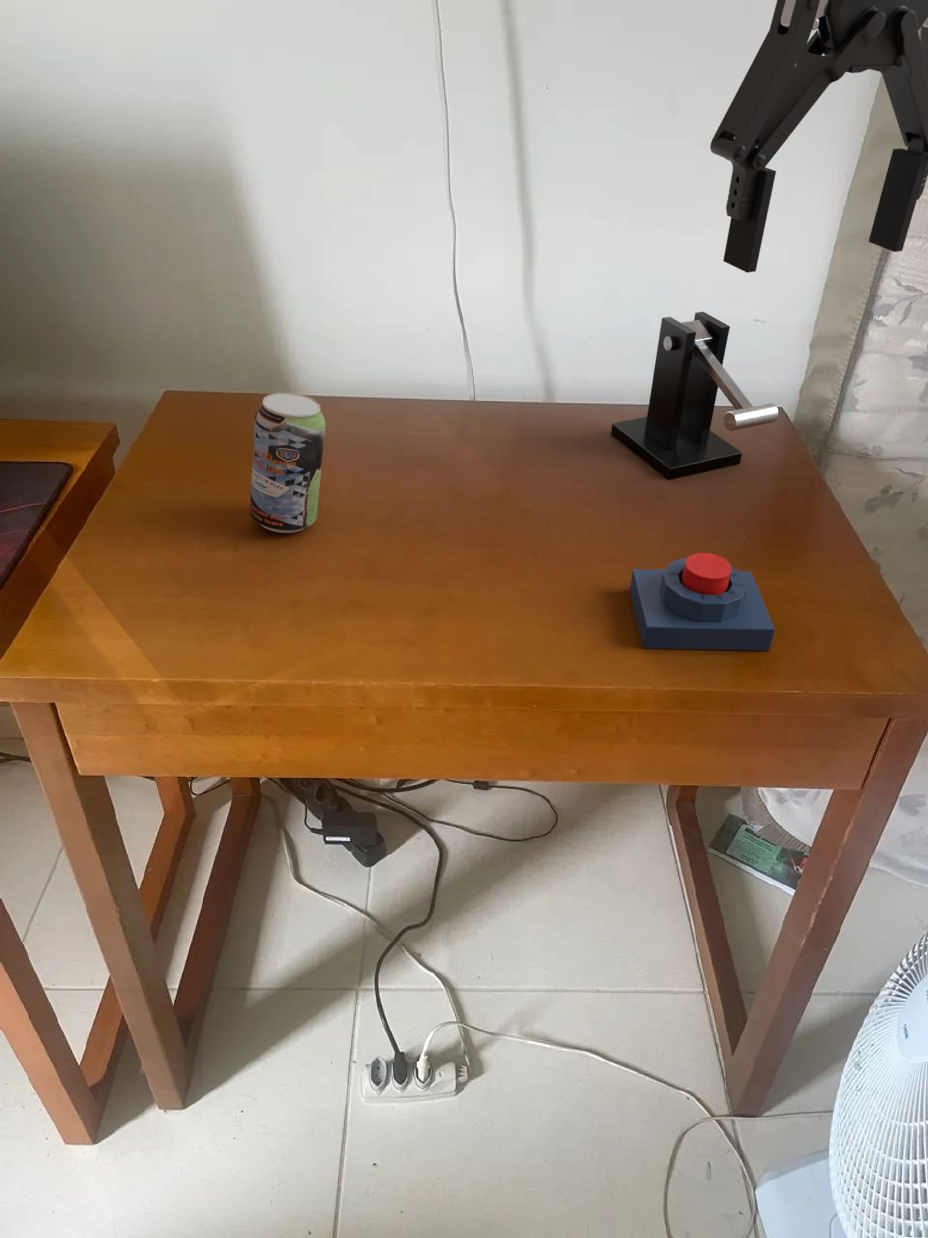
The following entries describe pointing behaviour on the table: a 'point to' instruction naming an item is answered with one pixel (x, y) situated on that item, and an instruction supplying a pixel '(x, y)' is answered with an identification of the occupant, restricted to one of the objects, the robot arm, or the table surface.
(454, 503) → the table surface
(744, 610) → the button box
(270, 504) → the beverage can
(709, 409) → the bracket
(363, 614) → the table surface
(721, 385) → the lever
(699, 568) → the button
